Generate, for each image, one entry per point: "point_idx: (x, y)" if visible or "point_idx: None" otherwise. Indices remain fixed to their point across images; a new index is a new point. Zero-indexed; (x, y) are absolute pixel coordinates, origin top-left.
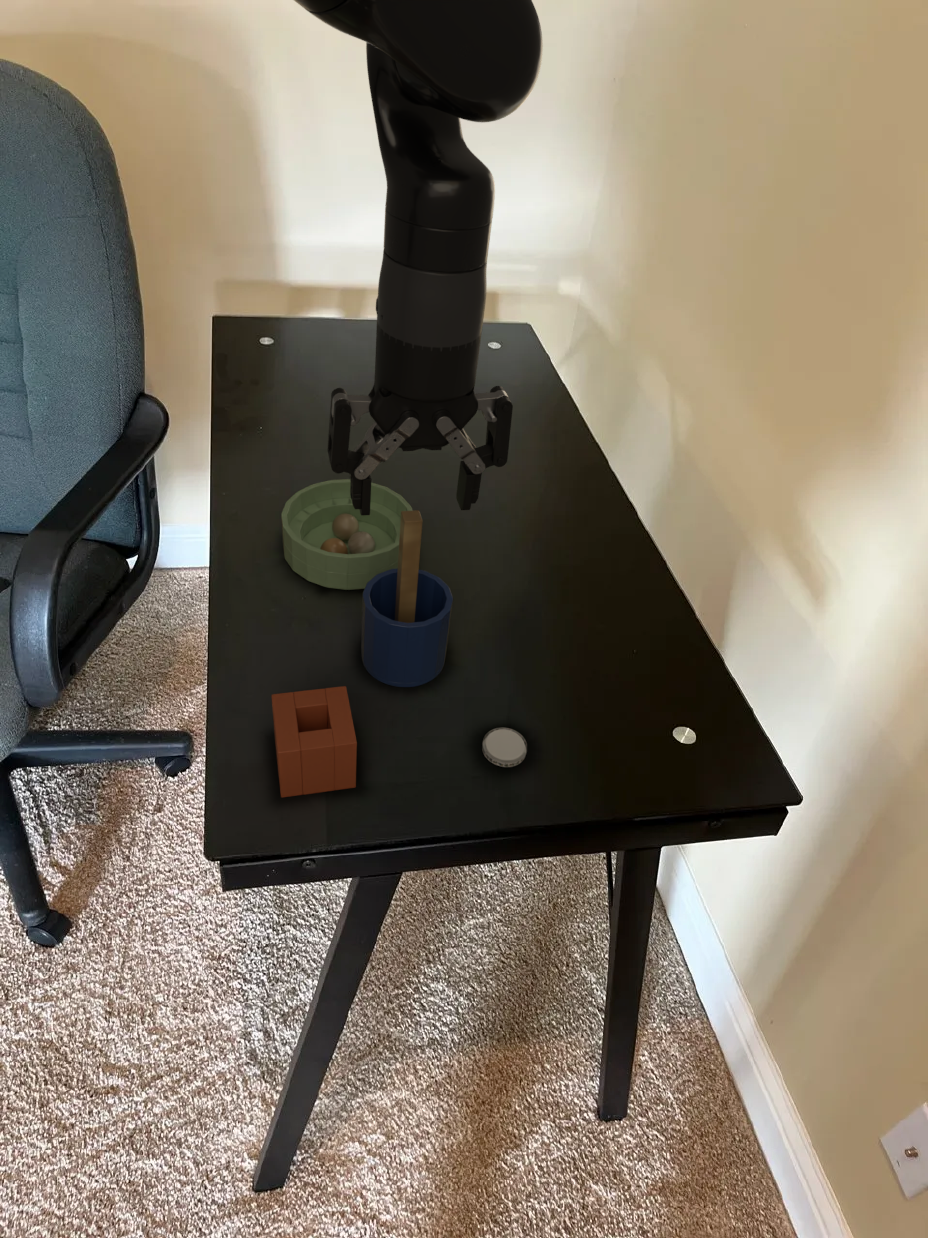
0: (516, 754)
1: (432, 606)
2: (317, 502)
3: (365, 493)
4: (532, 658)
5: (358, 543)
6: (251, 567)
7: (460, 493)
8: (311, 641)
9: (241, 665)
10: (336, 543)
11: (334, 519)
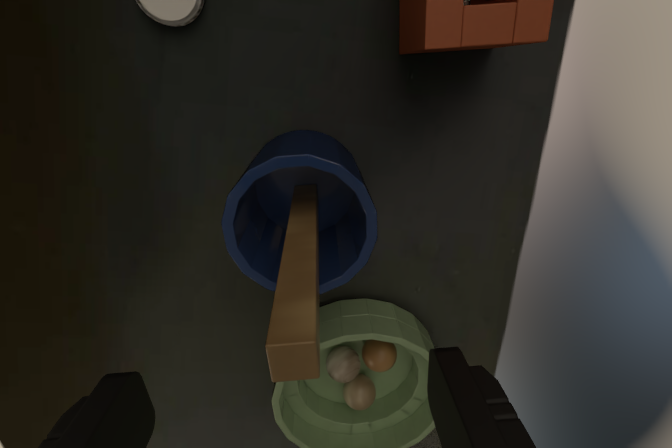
0: None
1: (259, 240)
2: (390, 426)
3: (482, 419)
4: (122, 172)
5: (349, 363)
6: (469, 336)
7: (127, 433)
8: (419, 219)
9: (509, 184)
10: (379, 362)
11: (373, 401)
